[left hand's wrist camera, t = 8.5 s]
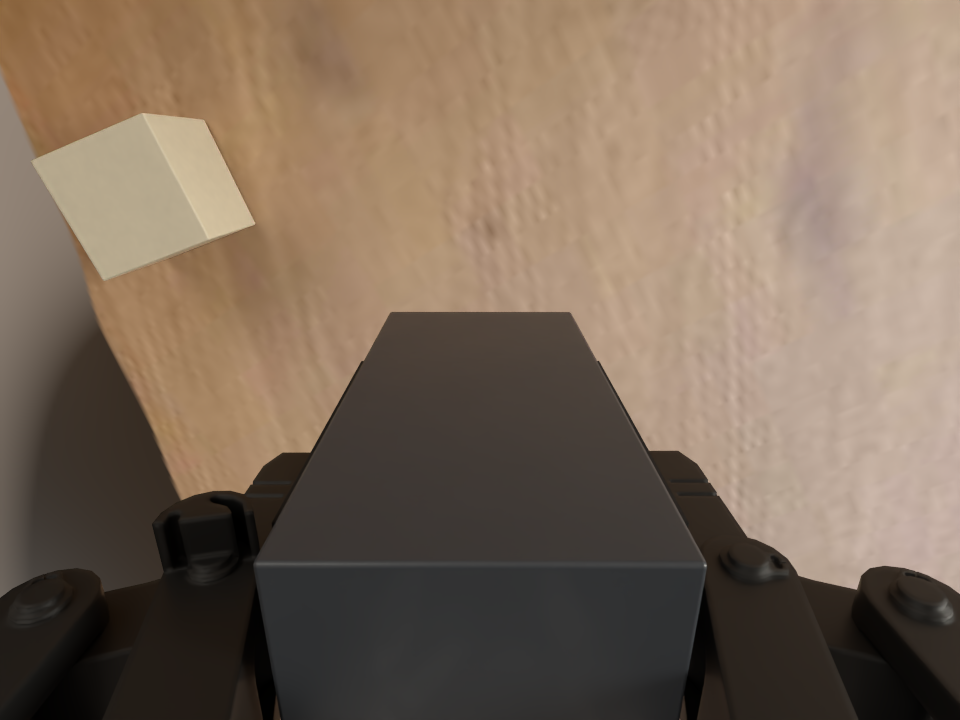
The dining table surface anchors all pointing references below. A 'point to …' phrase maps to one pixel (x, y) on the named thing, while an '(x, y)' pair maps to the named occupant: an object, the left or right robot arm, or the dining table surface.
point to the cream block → (144, 191)
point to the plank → (480, 539)
